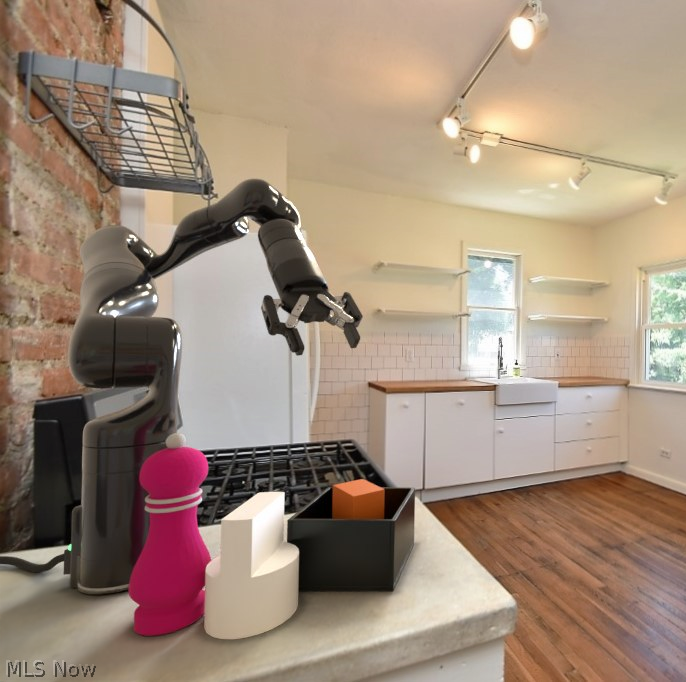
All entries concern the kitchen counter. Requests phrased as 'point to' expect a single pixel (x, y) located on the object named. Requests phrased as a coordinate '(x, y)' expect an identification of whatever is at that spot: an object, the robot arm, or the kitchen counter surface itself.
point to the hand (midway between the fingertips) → (329, 348)
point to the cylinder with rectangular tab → (252, 571)
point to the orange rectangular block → (357, 500)
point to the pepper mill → (171, 542)
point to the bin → (353, 544)
